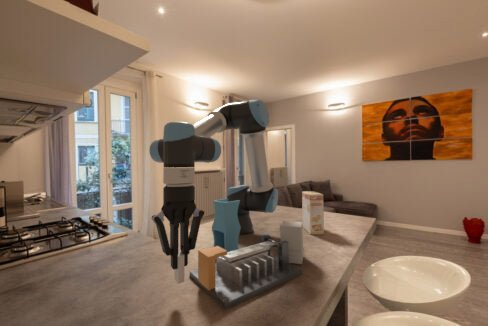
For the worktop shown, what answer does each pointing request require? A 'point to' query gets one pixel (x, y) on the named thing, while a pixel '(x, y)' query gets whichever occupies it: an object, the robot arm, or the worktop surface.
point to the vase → (226, 224)
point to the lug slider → (208, 265)
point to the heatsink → (249, 275)
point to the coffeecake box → (313, 212)
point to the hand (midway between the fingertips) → (179, 280)
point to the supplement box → (293, 240)
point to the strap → (250, 250)
